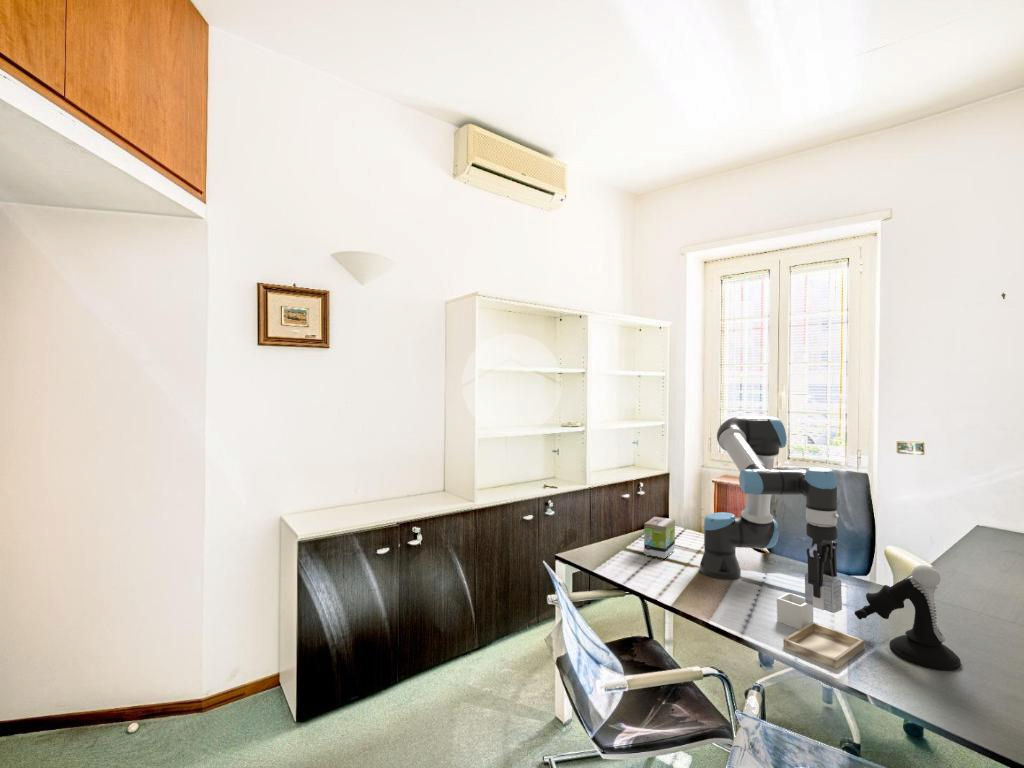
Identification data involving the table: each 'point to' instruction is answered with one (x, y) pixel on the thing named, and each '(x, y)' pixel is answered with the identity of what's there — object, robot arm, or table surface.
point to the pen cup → (794, 611)
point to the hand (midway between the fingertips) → (823, 605)
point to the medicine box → (826, 593)
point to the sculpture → (915, 620)
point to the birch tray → (824, 644)
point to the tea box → (659, 537)
